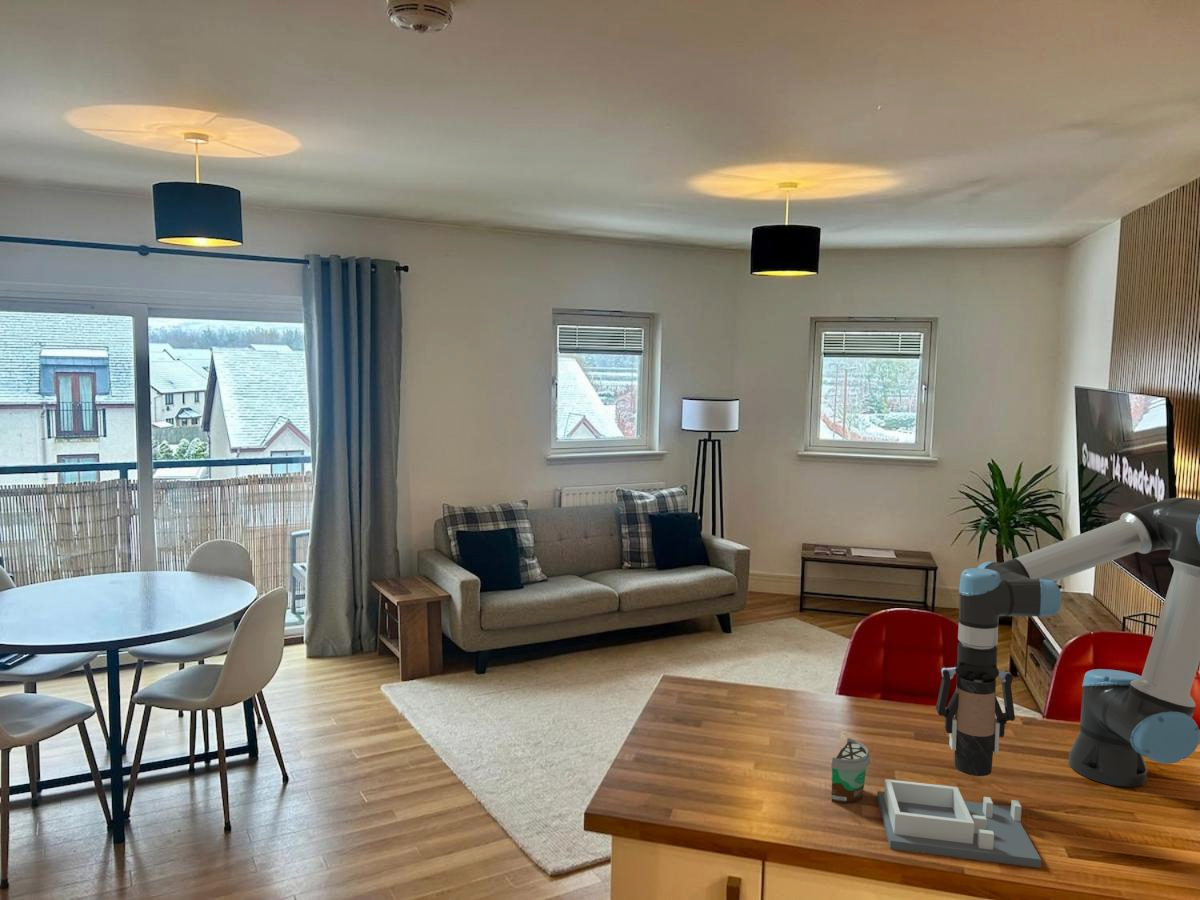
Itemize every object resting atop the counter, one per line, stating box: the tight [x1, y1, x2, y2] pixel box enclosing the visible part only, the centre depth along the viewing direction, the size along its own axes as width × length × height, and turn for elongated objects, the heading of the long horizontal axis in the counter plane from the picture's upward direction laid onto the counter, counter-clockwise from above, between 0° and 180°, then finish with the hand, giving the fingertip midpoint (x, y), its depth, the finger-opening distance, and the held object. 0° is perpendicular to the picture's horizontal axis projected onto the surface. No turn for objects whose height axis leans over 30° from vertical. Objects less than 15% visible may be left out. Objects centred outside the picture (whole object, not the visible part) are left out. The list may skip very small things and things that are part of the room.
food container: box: [830, 737, 871, 805], centre depth 173 cm, size 12×6×10 cm, turn 148°
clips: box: [972, 796, 1023, 850], centre depth 159 cm, size 10×14×3 cm
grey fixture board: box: [876, 790, 1042, 869], centre depth 161 cm, size 26×19×2 cm
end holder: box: [883, 778, 974, 844], centre depth 162 cm, size 14×14×4 cm
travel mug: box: [954, 674, 997, 777], centre depth 173 cm, size 8×8×20 cm
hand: (973, 749), depth 174 cm, fingers closed on travel mug, 8 cm apart
